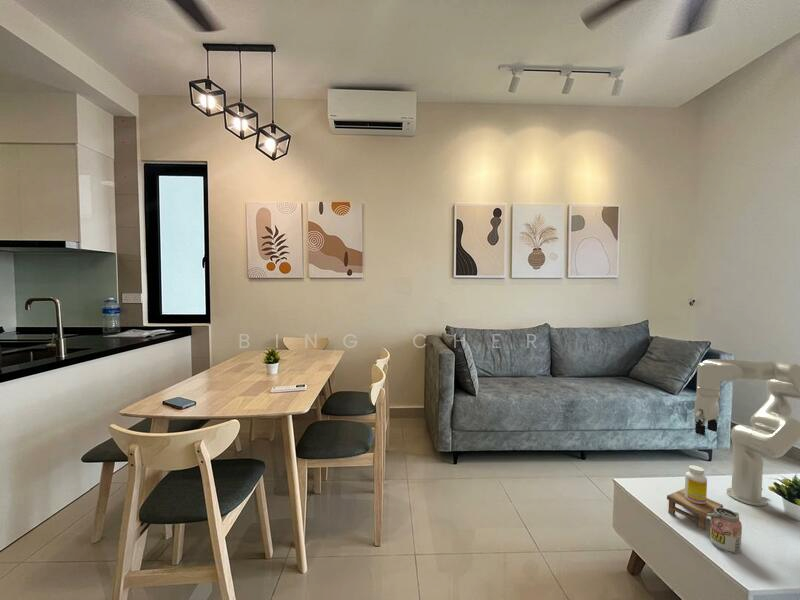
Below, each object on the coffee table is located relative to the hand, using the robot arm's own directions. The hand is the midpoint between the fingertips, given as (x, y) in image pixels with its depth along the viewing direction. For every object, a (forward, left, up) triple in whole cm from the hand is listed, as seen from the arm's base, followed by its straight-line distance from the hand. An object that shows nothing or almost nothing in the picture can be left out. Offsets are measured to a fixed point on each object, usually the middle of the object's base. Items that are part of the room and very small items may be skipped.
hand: (706, 432), depth 154 cm
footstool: (+16, +4, -30) cm, 34 cm away
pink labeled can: (+25, +17, -31) cm, 43 cm away
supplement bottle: (+16, +4, -24) cm, 28 cm away
